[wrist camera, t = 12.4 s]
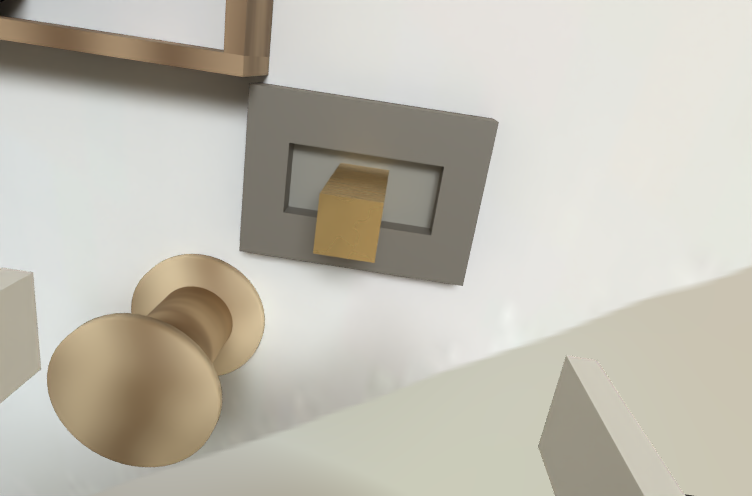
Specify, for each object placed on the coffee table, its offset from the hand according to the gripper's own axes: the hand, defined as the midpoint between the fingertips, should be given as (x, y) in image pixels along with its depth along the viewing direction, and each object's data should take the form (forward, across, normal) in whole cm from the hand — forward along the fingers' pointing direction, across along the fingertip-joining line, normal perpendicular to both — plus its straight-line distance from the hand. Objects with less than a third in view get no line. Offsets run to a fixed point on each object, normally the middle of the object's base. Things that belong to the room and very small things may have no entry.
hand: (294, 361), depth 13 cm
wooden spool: (+21, -10, -11) cm, 26 cm away
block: (+20, 0, 0) cm, 20 cm away
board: (+21, 0, 0) cm, 21 cm away
